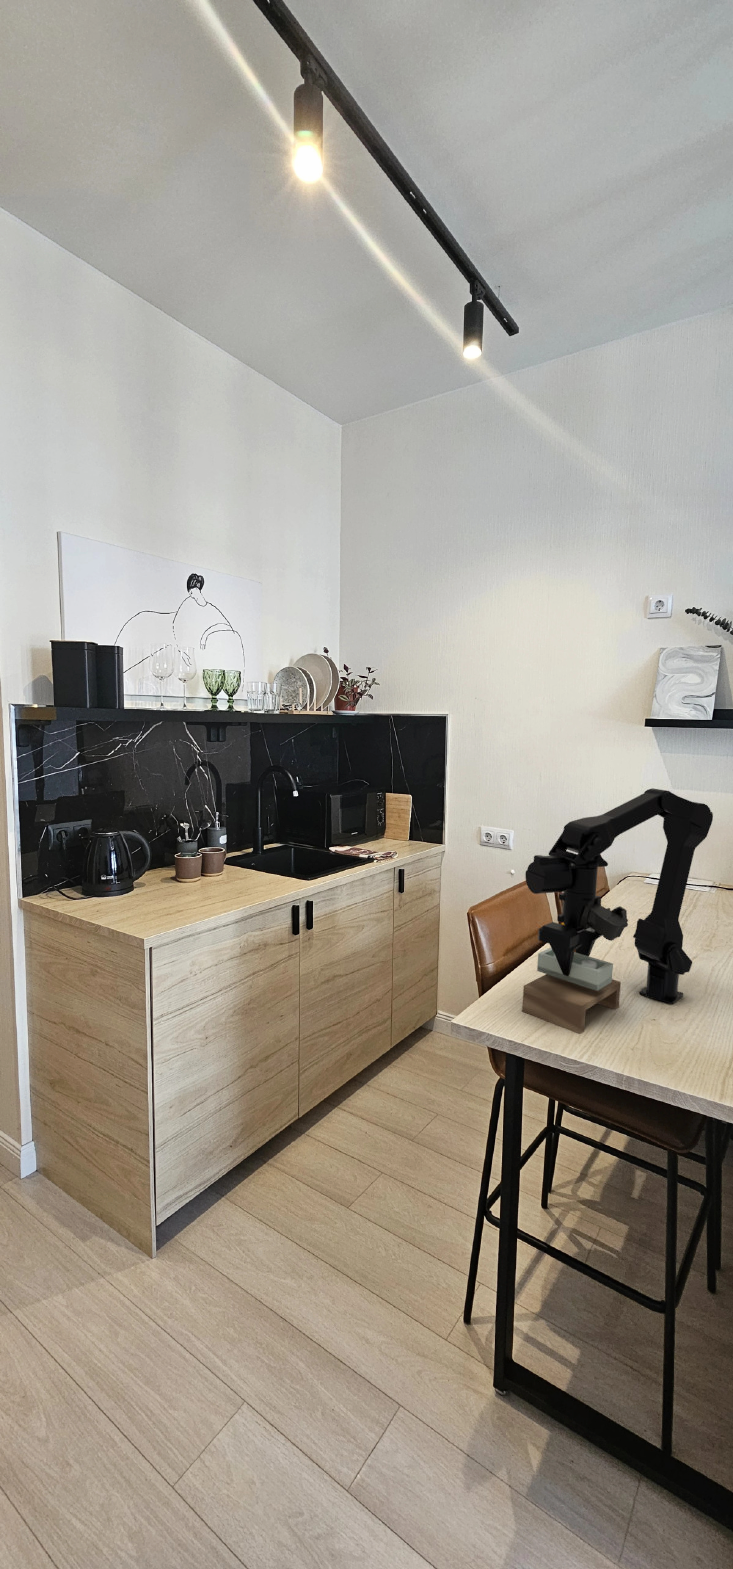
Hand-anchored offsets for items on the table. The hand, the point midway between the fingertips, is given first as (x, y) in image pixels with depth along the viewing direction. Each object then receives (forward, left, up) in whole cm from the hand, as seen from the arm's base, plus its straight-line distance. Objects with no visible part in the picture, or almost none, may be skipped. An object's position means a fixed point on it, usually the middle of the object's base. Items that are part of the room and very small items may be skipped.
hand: (574, 971), depth 124 cm
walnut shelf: (0, 0, -8) cm, 8 cm away
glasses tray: (0, 0, -1) cm, 1 cm away
